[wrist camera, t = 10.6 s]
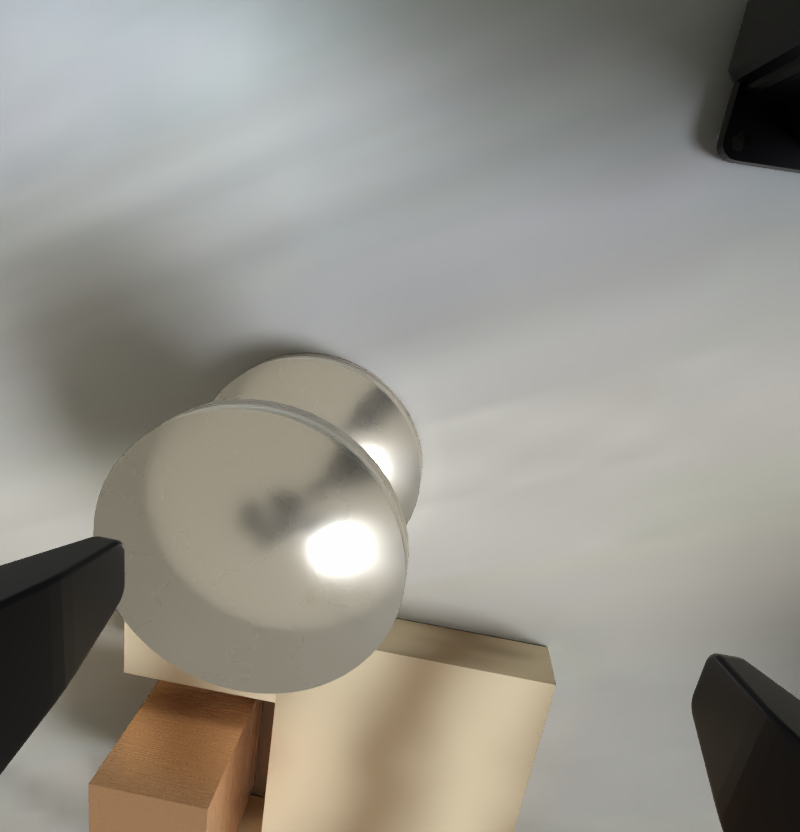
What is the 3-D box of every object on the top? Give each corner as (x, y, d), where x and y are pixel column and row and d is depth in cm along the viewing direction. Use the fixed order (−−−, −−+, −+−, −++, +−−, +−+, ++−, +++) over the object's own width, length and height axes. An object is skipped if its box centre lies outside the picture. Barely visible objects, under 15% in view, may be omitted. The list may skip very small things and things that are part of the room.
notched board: (547, 647, 22) (556, 685, 21) (479, 895, 27) (480, 945, 25) (151, 571, 23) (124, 601, 21) (145, 824, 27) (122, 868, 26)
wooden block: (266, 675, 24) (207, 809, 19) (254, 782, 26) (198, 933, 20) (174, 657, 24) (88, 784, 19) (169, 764, 26) (89, 909, 21)
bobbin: (439, 374, 20) (430, 442, 13) (403, 574, 22) (380, 719, 15) (213, 335, 20) (91, 383, 13) (202, 537, 22) (94, 662, 16)
